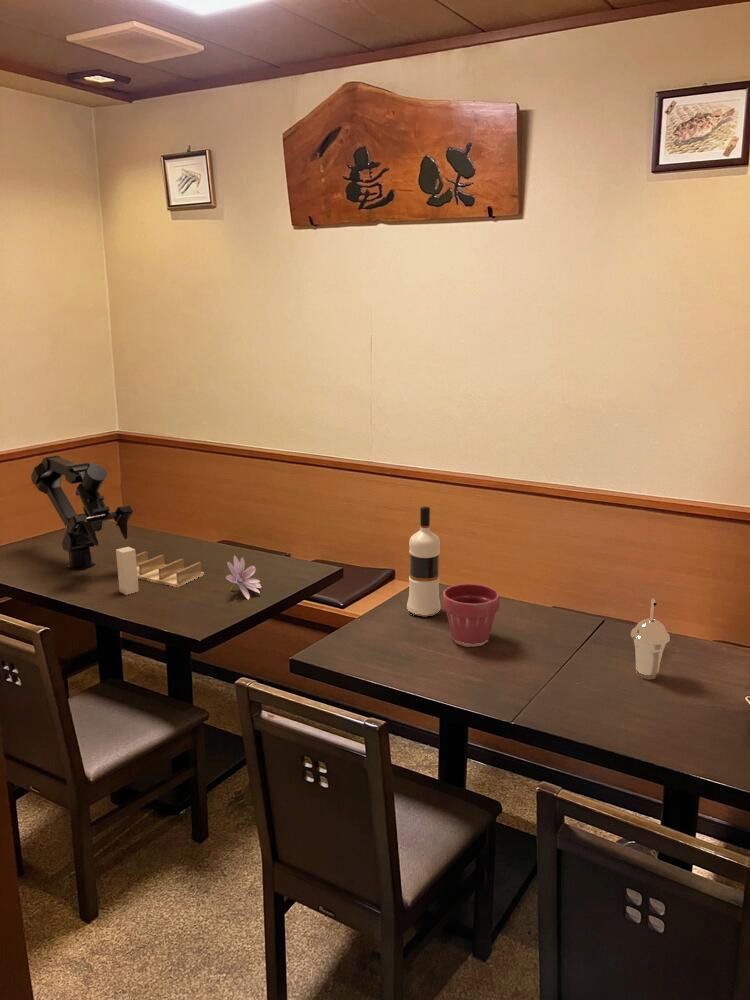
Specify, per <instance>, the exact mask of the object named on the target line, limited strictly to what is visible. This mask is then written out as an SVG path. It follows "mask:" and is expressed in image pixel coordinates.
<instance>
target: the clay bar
mask: <svg viewBox="0 0 750 1000" xmlns="http://www.w3.org/2000/svg"><path fill="white" fill-rule="evenodd" d="M115 553H116V555H115V556H116V566H117V577H118V587H119V588H118V589H119V592H120V593H121V594H123V595H126V596H128V594H129V595H132V594H135V592H136V593H138V591H139V592H140V590H139V579H138V576H137V564H136V555H137V553H136V549H135V548H133V547H130V546H126V547H120V548H117V549H115ZM131 593H132V594H131Z"/></svg>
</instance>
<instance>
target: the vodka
mask: <svg viewBox="0 0 750 1000" xmlns="http://www.w3.org/2000/svg"><path fill="white" fill-rule="evenodd" d="M419 510H420V512H419V514H420V517H419V519H420V521H419V526H420V527H419V530H418V531H417V532H415V533H414V534H412V535H411V536H410V537H409V541H408V545H409V546H408V547H409V549H408V552H409V576H408V580H409V581H408V582H409V589H408V599H407V603H406V609H408V610H407V612H408V611H410V612H412V613H415V614H421V615H429V614H434V613H437V612H439V611H440V612H441V610H440V609H441V607H442V606H441V604H442V603H441V602H440V588H439V587H440V580H441V579H440V578H441V577H440V553H441V550H440V549H441V540H440V537H439V536H438V535H437V534H435V533H434V532H432V531H431V529H430V528H431V526H430V525H431V523H430V522H431V521H430V520H431V507H430V506H421V507H420V509H419ZM440 612H439V613H440Z"/></svg>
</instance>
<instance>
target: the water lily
mask: <svg viewBox="0 0 750 1000" xmlns="http://www.w3.org/2000/svg"><path fill="white" fill-rule="evenodd" d="M226 564H227V567H228V568H229V571H230V572H231V574H227V575H226V576H225V579H226V580H228V581H229V582H230V583H232V584H233V585H232V586H231V587H230V588H229V591H230V592H232V591H233V590H234V589H235V587H236V586H237V585H238V586H239V590H240V591H241V593H242V595H243V596H244V598H246V599H247V600H249V599H250V598H251V597H250V593H249V590H251V591H253V592H255V593H258V594H261V592H260V590H259V589H261V588H262V585H261V583H260V582H261V581H260V579H257V578H251V577H252V576H253V575H254V574H255V573H256V570H257V568H256V567H255V566H254V565H250V566H248V567H247V568H246V563H245V559H244V557H241V558H240V560H239V559H238V557H237V556H236V555H233V564H232V563H231V562H230V561H227V563H226ZM245 568H246V569H245Z"/></svg>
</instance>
